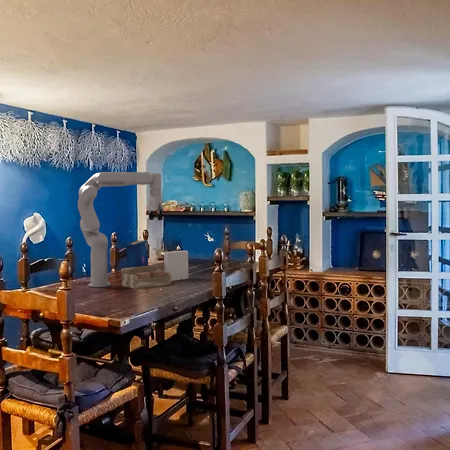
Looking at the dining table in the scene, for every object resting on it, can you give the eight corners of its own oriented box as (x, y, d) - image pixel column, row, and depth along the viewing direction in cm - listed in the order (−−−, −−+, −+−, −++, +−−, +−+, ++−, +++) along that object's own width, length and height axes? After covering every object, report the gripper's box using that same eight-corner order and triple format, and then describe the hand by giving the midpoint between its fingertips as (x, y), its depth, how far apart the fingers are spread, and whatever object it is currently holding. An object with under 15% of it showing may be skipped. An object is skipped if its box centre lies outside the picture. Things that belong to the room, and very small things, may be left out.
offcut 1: (135, 287, 289) (135, 273, 289) (146, 285, 294) (146, 272, 294) (139, 287, 286) (138, 274, 286) (150, 286, 291) (150, 272, 291)
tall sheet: (164, 280, 312) (164, 252, 311) (184, 277, 323) (184, 250, 322) (168, 281, 309) (167, 252, 308) (188, 278, 320) (188, 250, 319)
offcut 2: (149, 285, 296) (149, 271, 295) (160, 283, 301) (160, 270, 301) (153, 285, 293) (153, 272, 292) (164, 284, 298) (164, 271, 298)
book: (136, 283, 302) (135, 242, 301) (125, 283, 304) (124, 242, 302) (148, 277, 323) (148, 239, 322) (138, 277, 325) (138, 239, 324)
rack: (121, 285, 295) (121, 268, 294) (155, 280, 311) (155, 265, 310) (136, 288, 282) (135, 271, 282) (171, 284, 298) (170, 267, 298)
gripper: (142, 193, 315) (143, 219, 316) (158, 192, 302) (158, 220, 303) (152, 193, 320) (153, 219, 321) (168, 192, 307) (168, 220, 308)
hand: (155, 220), depth 312 cm, fingers open, 9 cm apart
